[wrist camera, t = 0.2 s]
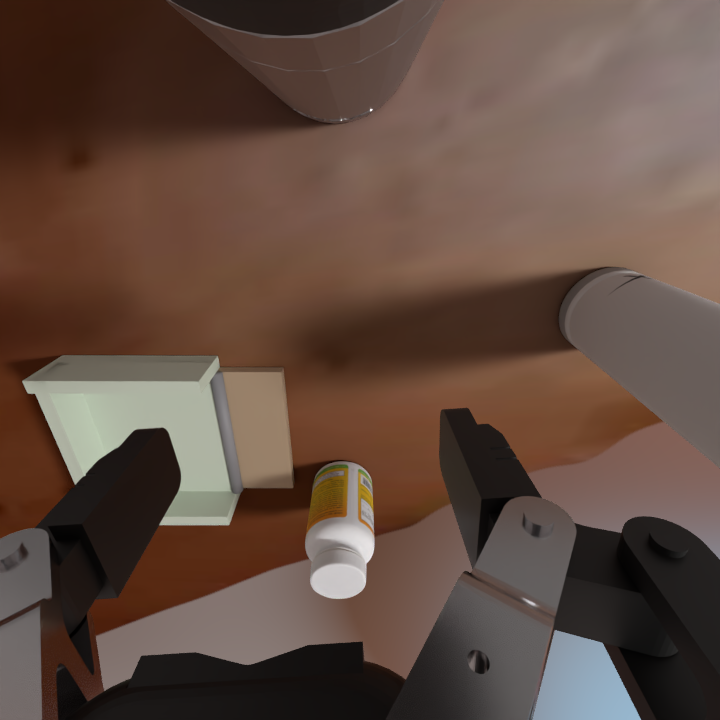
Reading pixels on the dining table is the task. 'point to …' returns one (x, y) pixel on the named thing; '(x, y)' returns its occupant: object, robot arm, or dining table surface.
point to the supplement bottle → (340, 529)
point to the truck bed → (174, 422)
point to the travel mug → (652, 347)
